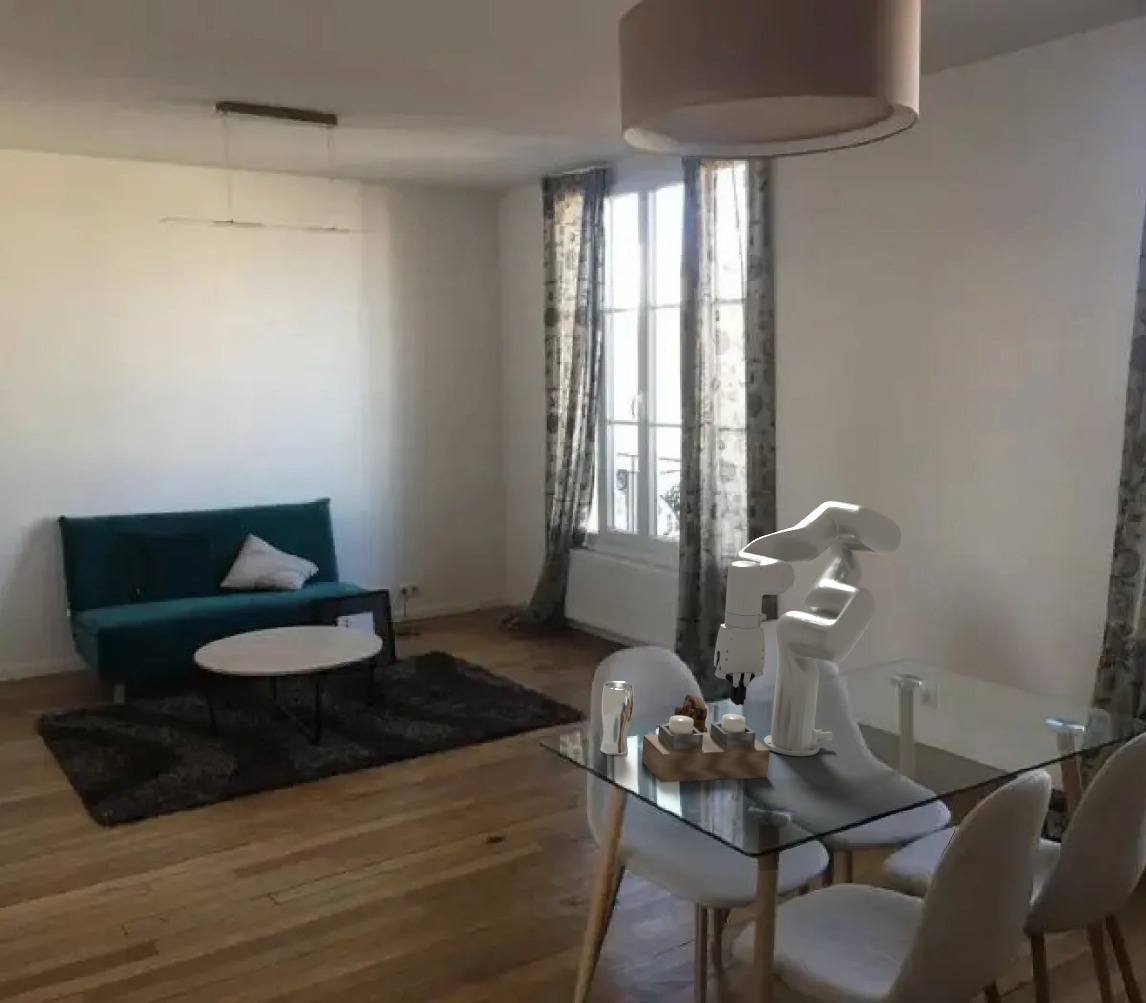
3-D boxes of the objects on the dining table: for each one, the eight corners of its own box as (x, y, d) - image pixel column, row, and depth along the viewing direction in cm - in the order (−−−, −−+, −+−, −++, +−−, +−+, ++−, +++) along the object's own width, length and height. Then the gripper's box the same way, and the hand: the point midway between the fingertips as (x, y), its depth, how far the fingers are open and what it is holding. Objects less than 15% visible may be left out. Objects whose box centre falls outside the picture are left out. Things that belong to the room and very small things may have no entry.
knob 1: (686, 737, 254) (688, 715, 253) (695, 745, 249) (697, 722, 248) (664, 738, 252) (666, 715, 252) (673, 746, 248) (674, 723, 247)
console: (743, 757, 262) (747, 718, 261) (767, 777, 251) (770, 736, 250) (641, 761, 256) (644, 721, 254) (660, 782, 244) (664, 740, 243)
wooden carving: (665, 728, 280) (669, 687, 278) (683, 727, 281) (686, 686, 280) (693, 752, 264) (697, 708, 263) (712, 751, 265) (716, 708, 264)
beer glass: (627, 758, 257) (632, 691, 255) (595, 754, 258) (600, 687, 256) (632, 748, 264) (636, 682, 262) (601, 744, 265) (605, 679, 263)
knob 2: (738, 736, 257) (740, 713, 257) (747, 743, 252) (749, 721, 252) (716, 736, 256) (718, 714, 255) (726, 744, 251) (727, 721, 250)
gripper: (767, 614, 256) (761, 696, 259) (703, 616, 252) (698, 699, 255) (782, 623, 249) (776, 707, 252) (716, 625, 245) (711, 710, 248)
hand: (737, 703), depth 254 cm, fingers closed
